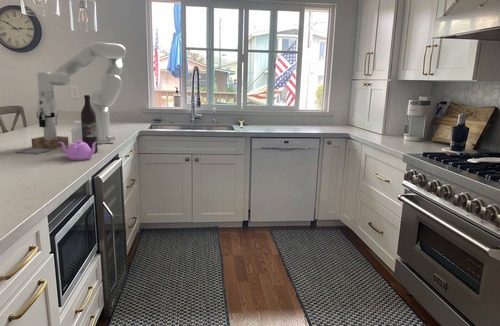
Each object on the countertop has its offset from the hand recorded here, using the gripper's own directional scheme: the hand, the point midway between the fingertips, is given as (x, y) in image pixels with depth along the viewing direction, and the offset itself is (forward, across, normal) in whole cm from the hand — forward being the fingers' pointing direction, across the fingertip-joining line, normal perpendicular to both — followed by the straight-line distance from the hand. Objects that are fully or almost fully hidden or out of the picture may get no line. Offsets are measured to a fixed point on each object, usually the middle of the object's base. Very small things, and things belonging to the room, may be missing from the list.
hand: (48, 126), depth 202 cm
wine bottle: (+12, -9, -30) cm, 33 cm away
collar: (+12, +1, 0) cm, 12 cm away
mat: (+12, -14, -2) cm, 19 cm away
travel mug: (+12, +1, 0) cm, 12 cm away
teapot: (+12, -24, -32) cm, 42 cm away
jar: (+12, +2, -20) cm, 23 cm away
